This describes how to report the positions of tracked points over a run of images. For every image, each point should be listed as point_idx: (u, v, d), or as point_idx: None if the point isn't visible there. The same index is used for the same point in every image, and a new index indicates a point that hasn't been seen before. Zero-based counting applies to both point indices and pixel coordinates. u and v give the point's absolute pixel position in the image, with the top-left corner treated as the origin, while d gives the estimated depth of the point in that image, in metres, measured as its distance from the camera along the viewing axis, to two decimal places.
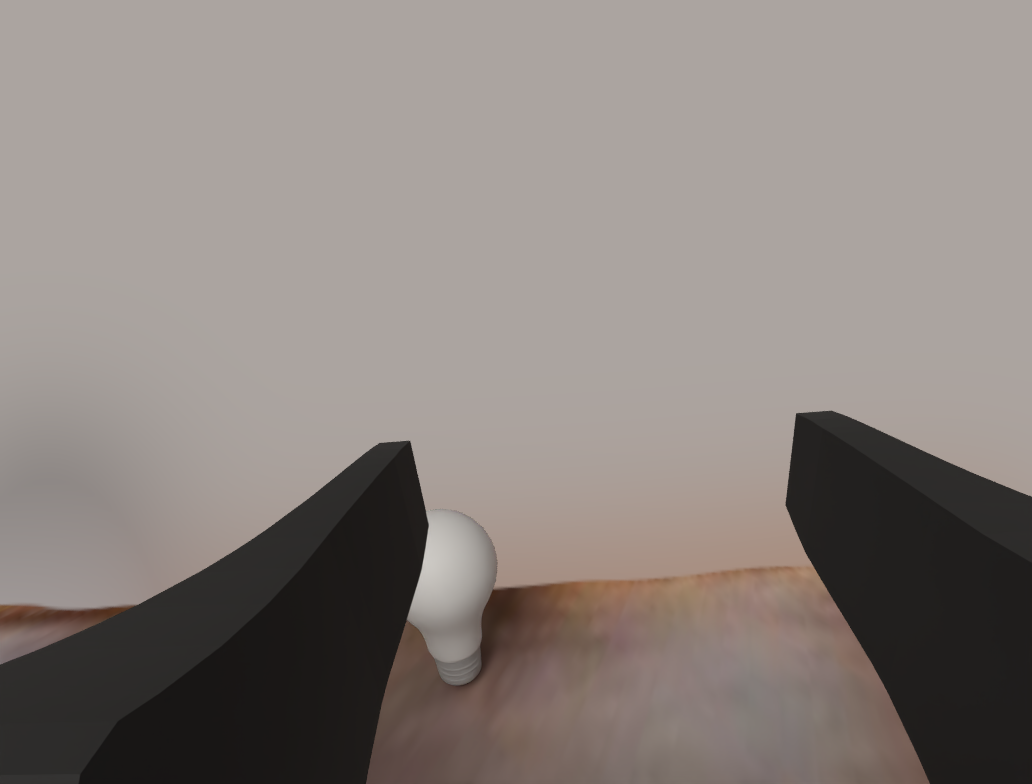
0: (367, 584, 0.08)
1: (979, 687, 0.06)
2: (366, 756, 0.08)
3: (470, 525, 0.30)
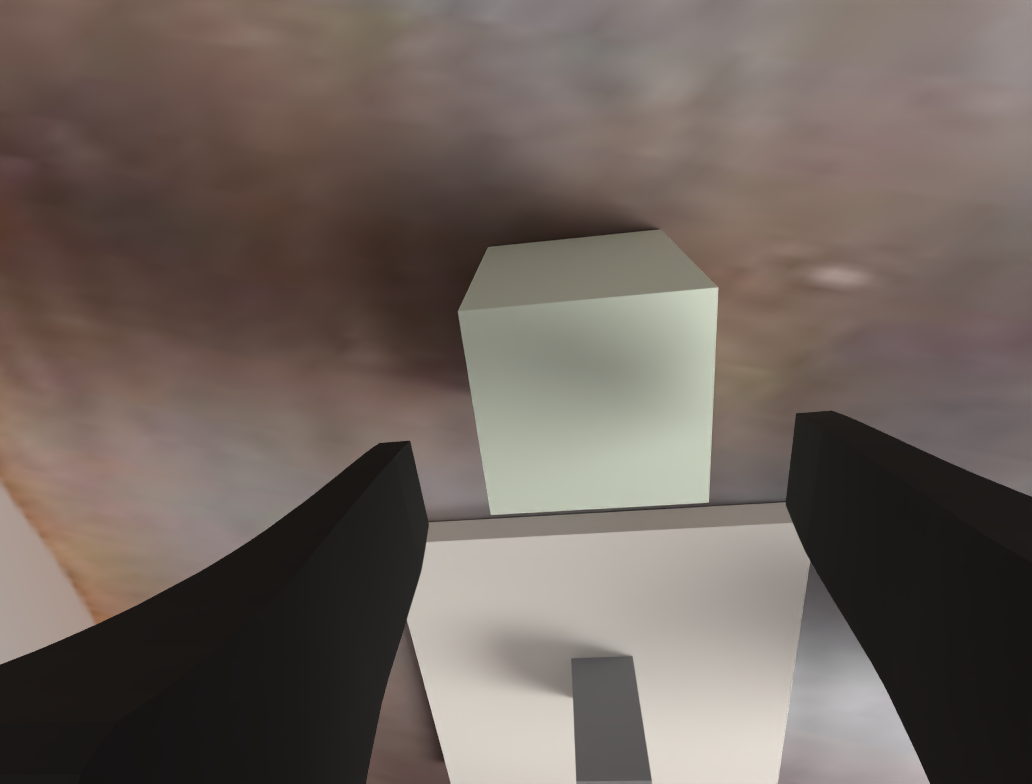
0: (367, 584, 0.08)
1: (979, 687, 0.06)
2: (366, 756, 0.08)
3: None
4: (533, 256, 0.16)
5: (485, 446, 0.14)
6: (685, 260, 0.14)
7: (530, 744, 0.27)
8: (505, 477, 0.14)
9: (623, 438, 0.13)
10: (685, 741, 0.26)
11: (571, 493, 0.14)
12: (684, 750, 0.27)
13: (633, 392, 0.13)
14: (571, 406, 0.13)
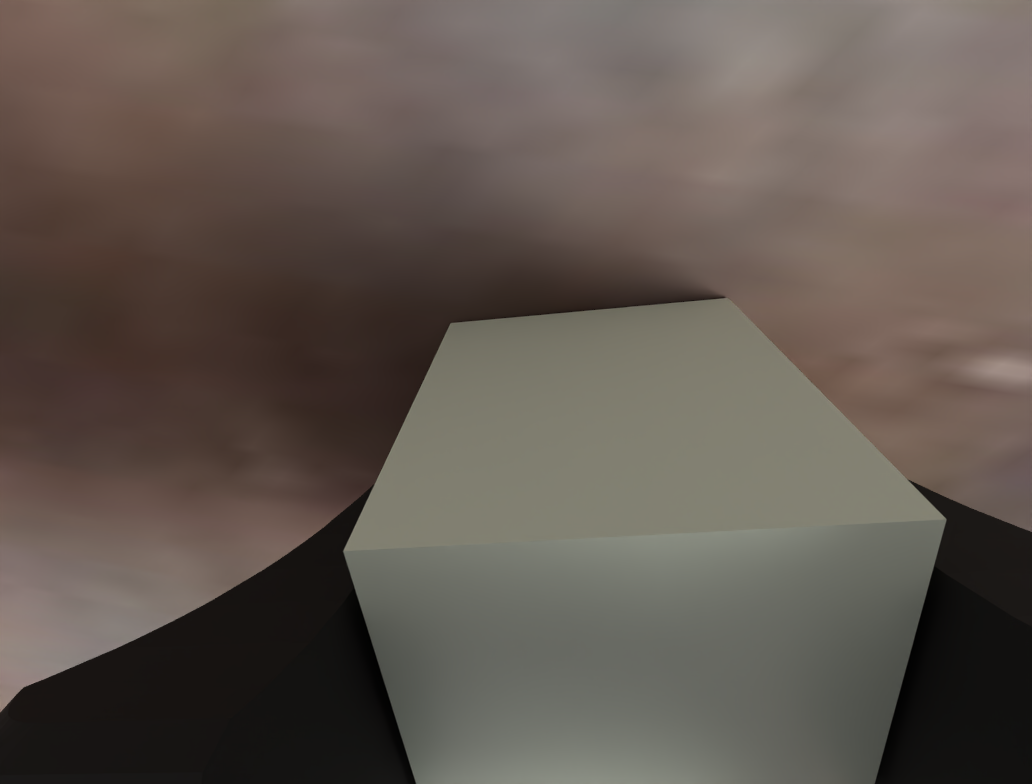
0: None
1: None
2: None
3: None
4: (520, 355, 0.09)
5: (422, 765, 0.07)
6: (811, 394, 0.07)
7: None
8: None
9: (697, 764, 0.07)
10: None
11: None
12: None
13: (724, 697, 0.06)
14: (593, 714, 0.06)
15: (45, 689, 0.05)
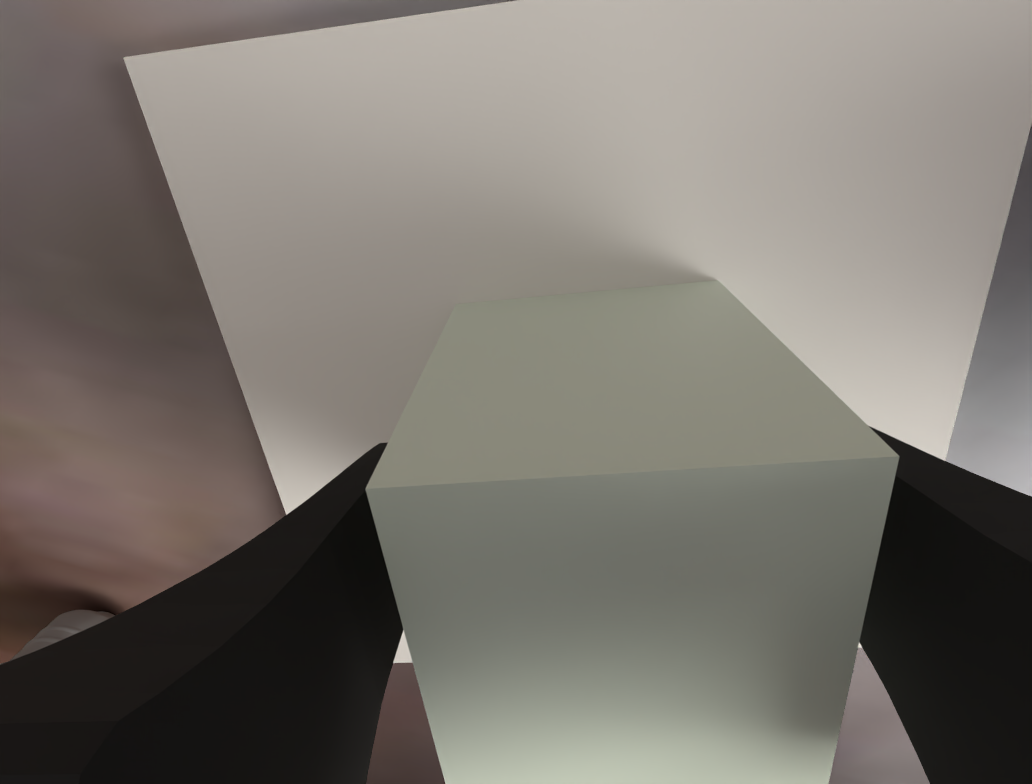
0: (367, 584, 0.08)
1: (979, 687, 0.06)
2: (366, 756, 0.08)
3: None
4: (522, 330, 0.10)
5: (432, 697, 0.07)
6: (789, 360, 0.08)
7: None
8: (469, 741, 0.08)
9: (683, 693, 0.07)
10: None
11: (585, 766, 0.08)
12: None
13: (706, 626, 0.07)
14: (588, 644, 0.07)
15: None
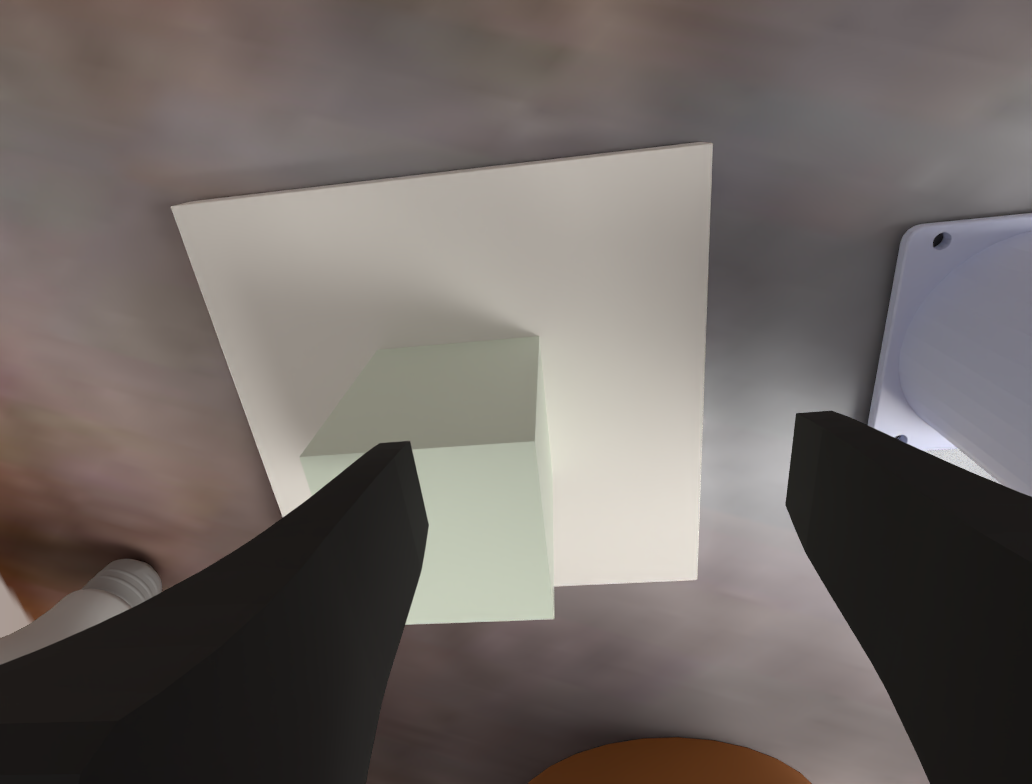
0: (367, 584, 0.08)
1: (979, 687, 0.06)
2: (366, 756, 0.08)
3: None
4: (408, 370, 0.17)
5: None
6: (531, 392, 0.15)
7: None
8: None
9: (467, 564, 0.14)
10: (580, 515, 0.21)
11: (425, 610, 0.15)
12: (580, 529, 0.22)
13: (470, 526, 0.14)
14: None
15: None
